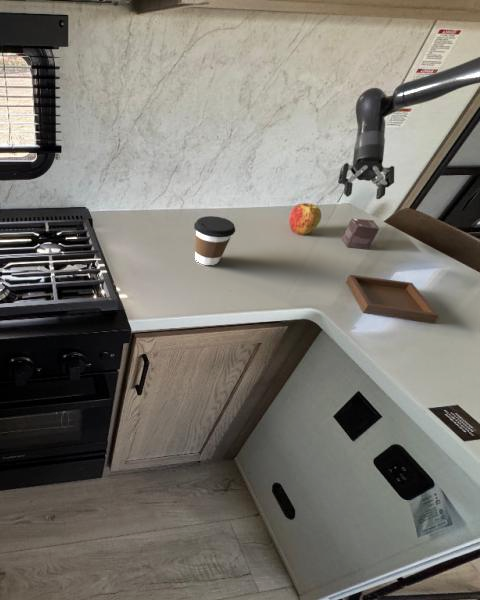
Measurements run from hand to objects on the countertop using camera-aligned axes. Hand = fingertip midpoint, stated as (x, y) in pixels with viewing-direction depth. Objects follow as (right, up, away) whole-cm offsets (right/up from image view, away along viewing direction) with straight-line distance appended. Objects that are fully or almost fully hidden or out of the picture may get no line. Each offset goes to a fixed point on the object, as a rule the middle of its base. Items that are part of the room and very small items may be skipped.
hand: (363, 196), depth 109 cm
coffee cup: (-53, -21, -7) cm, 57 cm away
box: (-3, -15, +1) cm, 15 cm away
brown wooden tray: (-14, -33, -23) cm, 43 cm away
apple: (-15, -10, +8) cm, 20 cm away
